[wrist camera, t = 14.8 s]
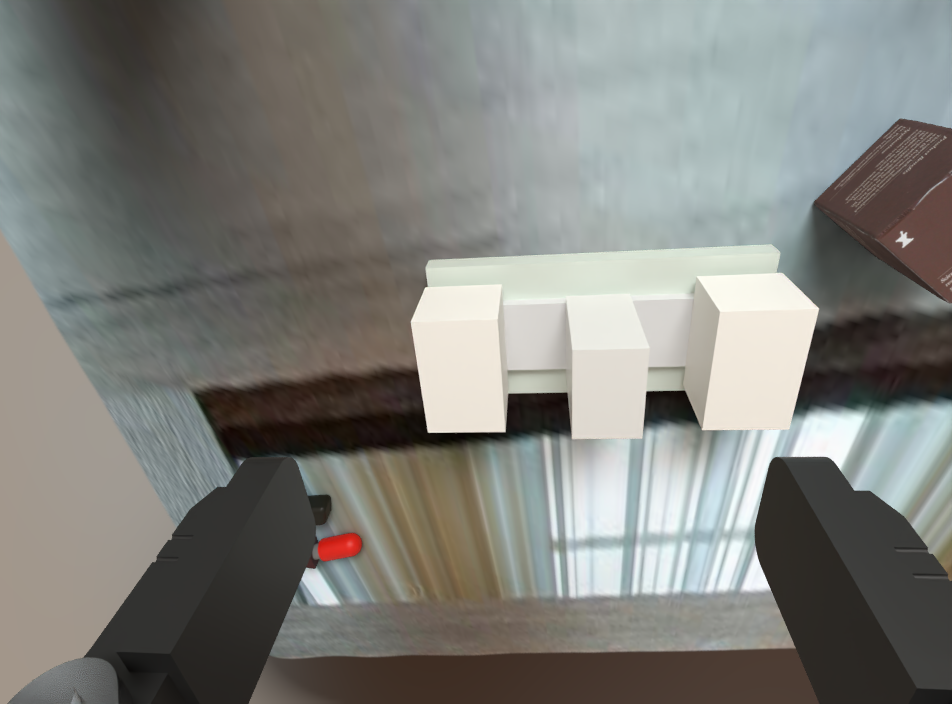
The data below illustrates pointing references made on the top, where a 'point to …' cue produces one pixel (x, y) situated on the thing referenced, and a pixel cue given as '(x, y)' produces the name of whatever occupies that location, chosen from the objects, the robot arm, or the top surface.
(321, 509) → the toy gun
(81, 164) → the top surface
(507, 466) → the top surface
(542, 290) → the board
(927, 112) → the top surface
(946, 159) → the box
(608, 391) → the block
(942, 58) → the top surface
